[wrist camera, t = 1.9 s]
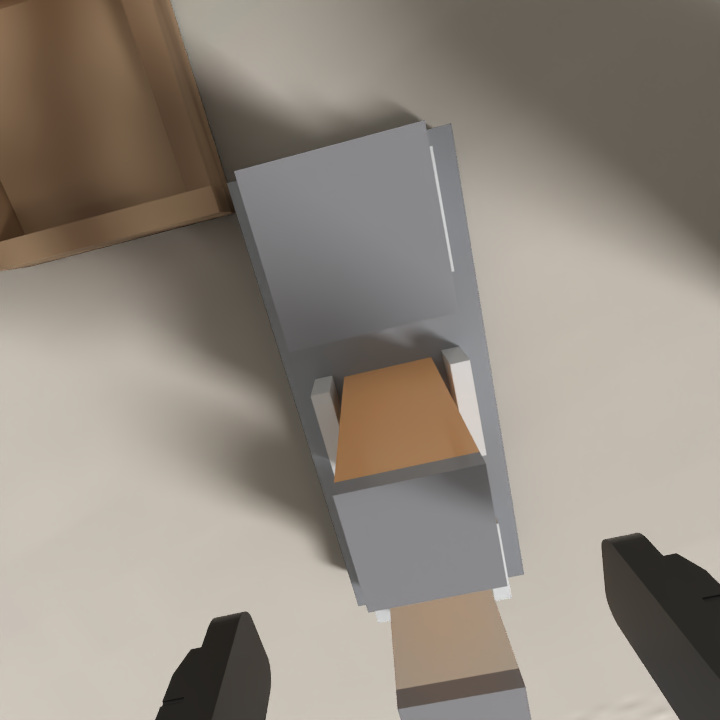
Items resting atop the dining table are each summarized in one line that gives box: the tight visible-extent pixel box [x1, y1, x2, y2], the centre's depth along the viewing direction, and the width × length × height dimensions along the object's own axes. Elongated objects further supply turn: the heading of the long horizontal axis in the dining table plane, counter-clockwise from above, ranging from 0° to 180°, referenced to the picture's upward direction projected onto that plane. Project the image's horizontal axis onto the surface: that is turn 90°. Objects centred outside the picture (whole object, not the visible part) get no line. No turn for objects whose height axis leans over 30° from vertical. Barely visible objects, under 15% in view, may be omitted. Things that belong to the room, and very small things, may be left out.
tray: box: [0, 0, 236, 271], centre depth 18 cm, size 10×10×2 cm
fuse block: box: [227, 120, 531, 720], centre depth 17 cm, size 9×22×11 cm, turn 14°
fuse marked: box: [333, 357, 507, 613], centre depth 16 cm, size 4×4×9 cm
